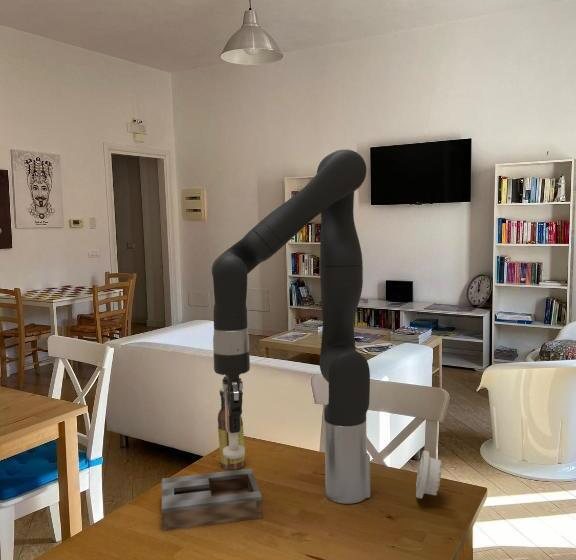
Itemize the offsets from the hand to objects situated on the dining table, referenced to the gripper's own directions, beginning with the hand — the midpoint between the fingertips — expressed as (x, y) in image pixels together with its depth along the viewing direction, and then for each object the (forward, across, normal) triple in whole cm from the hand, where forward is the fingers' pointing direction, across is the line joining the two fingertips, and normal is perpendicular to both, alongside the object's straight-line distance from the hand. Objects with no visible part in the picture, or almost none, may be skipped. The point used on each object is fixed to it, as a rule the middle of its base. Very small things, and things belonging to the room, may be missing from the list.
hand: (233, 428), depth 121 cm
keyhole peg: (+6, 0, 0) cm, 6 cm away
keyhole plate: (+17, 0, +6) cm, 18 cm away
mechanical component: (+17, -7, -40) cm, 44 cm away
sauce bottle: (+17, +20, -2) cm, 26 cm away
